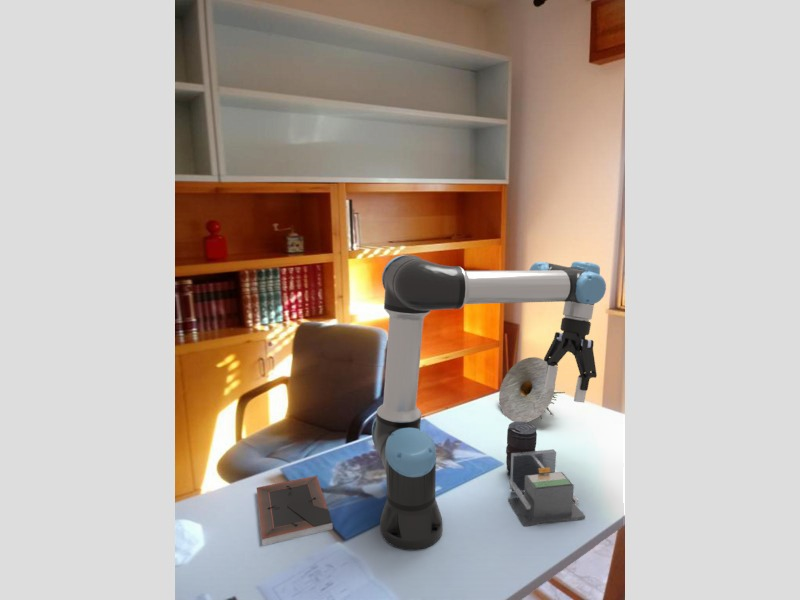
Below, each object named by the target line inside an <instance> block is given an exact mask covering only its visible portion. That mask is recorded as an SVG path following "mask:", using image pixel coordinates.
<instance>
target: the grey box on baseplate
mask: <svg viewBox="0 0 800 600" xmlns="http://www.w3.org/2000/svg"><path fill="white" fill-rule="evenodd" d="M574 486H575V485H574V484H573V483H572V482H571V480H570V479H569V478H568V477H567V476H566V474H564V473H563V472H562V471H555V473H545V474H536V475H526V476H525V487H524V491H523V495H524V497H525V498H526V500H527V501H528V503H529V504H530V506H531V507H530V509H526V507H525V506H524V504H523V503H522V501H521V500H520V498H519V497H518V496H517V497H511V498H510V497H509V498H507V503H508V504H509V505H510V506H511V508H512V511H514V513H515V515H516V516H517V518H518V520H519V522H520V523H521V524H522V526H523V527H531V526H538V525H548V524H555V523H563V522H572V521H580V520H585V519H586V515H585V514H584V513H583V512H582V511H581V509H580V508H579V507H578V506H577V504H575V503H574V502H573V494H574V488H575V487H574Z"/></svg>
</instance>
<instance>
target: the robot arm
mask: <svg viewBox="0 0 800 600" xmlns="http://www.w3.org/2000/svg"><path fill="white" fill-rule="evenodd" d="M600 273H601V268H600V266H599V264H597V263H592V262H586V261H573V262H572V263H571V266H569V267H568V266H565V265H564V266H563V265H560V264H555V263H551V262H543V261H536V262H534V263H533V264H532V265H531V266H530V268H529V269H528V270H464V268H462V267H461V266H458V265H457V266H456V265H455V266H453V265H451V266H450V265H443V264H438V263H435V262H431V261H429V260H426V259H422V258H421V257H420V256H417V255H413V254H412V255H411V254H408V255H407V254H403V255H398V256H396V257H394V258H392V259H390V261H388V263H387V264H385V267H384V269H383V272H382V274H381V275H382V277H381V280H382V281H381V282H382V285H383V288H384V303H383V304H384V305H383V309H384V310H385V312H386V313H387V314H388V316H389V318H388V320H389V321H388V330H387V331H388V332H387V345H386V360H385V361H386V362H385V373H384V375H385V376H384V387H383V388H384V390H383V402H382V404H381V405H380V406H378V407H377V409H376V416H375V418H374V420H373V422H372V425H371V426H372V427H371V437H372V442H373V444H374V446H375V448H376V450H377V452H378V455H379V458H380V460H381V462H382V465H383V467H384V470H385V476H386V481H385V482H386V501H385V503H384V505H383V506H384V507H383V510H382V512H381V515H380V520H379V531H380V534H381V536H382V538H383V540H385V542H386V543H388V544H389V545H391V546H393V547H395V548H399V549H401V550H408V551H413V550H414V551H416V550H422V549H426V548H428V547H430V546H433V545H434V544H435V543H436V542H437V541H439V540H440V538H441V536H442V534H443V530H444V529H443V523H444V522H443V516H442V514H441V511H440V508H439V505H438V502H437V499H436V478H437V477H436V474H437V473H436V472H437V469H436V465H437V463H436V462H437V450H436V445H435V440H434V439H433V438H432V436H431V435H430V434H429V433H428V432H426V431H424V430H422V431H421V424H422V423H421V422H422V412H421V410H420V409H419V408H418V407H417V402H418V401H417V400H418V399H417V397H418V387H419V386H418V385H419V374H420V365H421V364H420V363H421V354H422V353H421V350H422V340H423V339H422V337H423V329H424V328H423V327H424V319H425V317H426V316H427V315H430V313H431V311H439V310H441V311H442V310H459V309H462V308H463V307H464V306H465V305H474V304H475V305H478V304H479V305H481V304H484V305H485V304H517V303H519V304H520V303H521V304H522V303H523V304H524V303H550V302H551V303H552V302H553V303H554V302H555V303H556V302H564V306H563V311H562V315H563V316H564V317H563V318H561V322H560V323H561V324H560V330H561V332H558V331H555V333H554V337H553V340H552V341H551V344H550V346H549V347H548V350H547V352H546V354H545V356H544V358H543V360H544V361H546V362H547V364H548V368H547V377H546V382H545V388H550V389H554V387H555V388H556V379H557V375H558V370H559V362H560V361H561V360H562V359H563V357H564V356H565V355H566V354H567V353H572V355H573V356H574V359H575V362H576V365H577V368H578V372H579V375H578V376H577V381H576V386H575V392H574V397H573V398H574V399H573V402H576V403H585V402H586V401H585V400H586V394H587V391H588V389H589V383H590V379H593V378H595V379H596V378H597V368H596V362H595V355H594V340H593V339H586V336H588V335H589V334H590V331H591V326H592V323H591V320H592V319H593V312H594V309H595V307H594V306H595V304H597V303H599V302H600V301H601V300H602V299H603V298H604V296H605V294H606V290H607V283H606V281H605V279H604V277H603V276H602V275H601V274H600Z"/></svg>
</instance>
